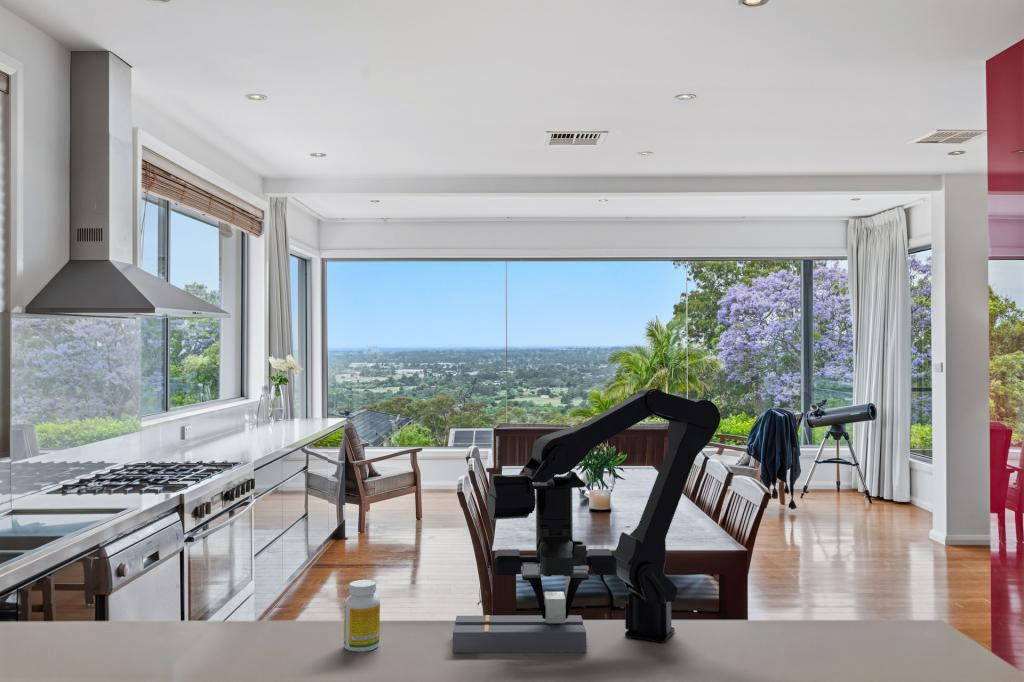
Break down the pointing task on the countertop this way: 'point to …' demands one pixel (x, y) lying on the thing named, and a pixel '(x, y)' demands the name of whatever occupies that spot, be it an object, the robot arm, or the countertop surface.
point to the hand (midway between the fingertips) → (554, 618)
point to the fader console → (517, 634)
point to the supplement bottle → (362, 617)
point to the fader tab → (555, 608)
